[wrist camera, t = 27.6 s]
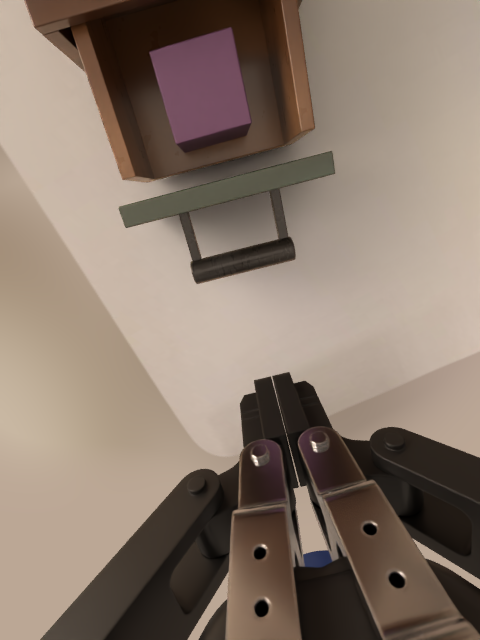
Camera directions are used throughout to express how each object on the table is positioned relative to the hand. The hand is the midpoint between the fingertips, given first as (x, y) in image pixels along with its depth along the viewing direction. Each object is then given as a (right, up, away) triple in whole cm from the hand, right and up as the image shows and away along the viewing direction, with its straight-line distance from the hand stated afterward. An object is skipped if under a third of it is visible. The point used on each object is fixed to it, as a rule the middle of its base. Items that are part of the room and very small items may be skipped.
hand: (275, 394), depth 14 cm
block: (-4, +17, +9) cm, 20 cm away
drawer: (-3, +16, +10) cm, 19 cm away
